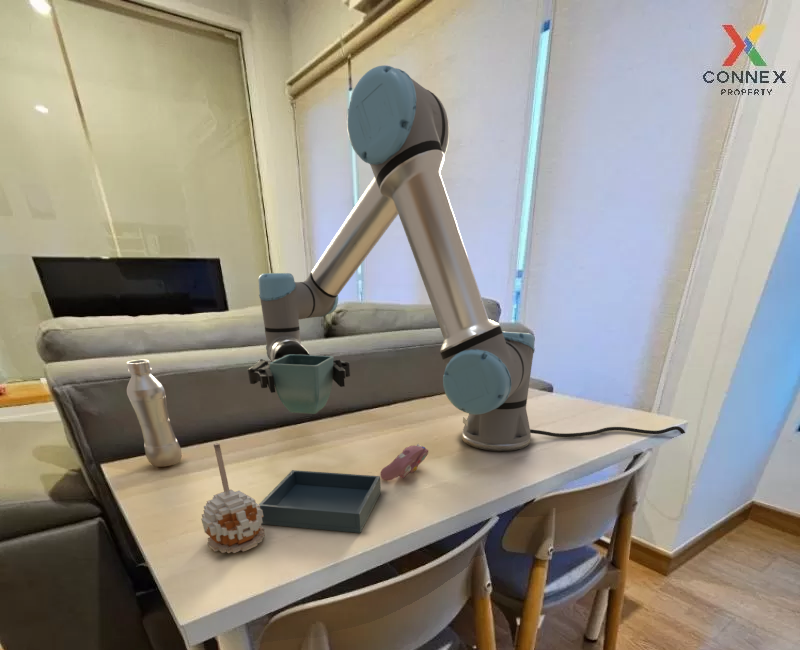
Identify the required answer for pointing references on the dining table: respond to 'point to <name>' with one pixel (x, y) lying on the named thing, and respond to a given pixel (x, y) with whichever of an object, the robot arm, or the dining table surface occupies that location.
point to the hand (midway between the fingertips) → (307, 381)
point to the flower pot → (303, 381)
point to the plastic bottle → (152, 415)
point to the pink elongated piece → (404, 462)
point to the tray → (322, 501)
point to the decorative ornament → (232, 517)
